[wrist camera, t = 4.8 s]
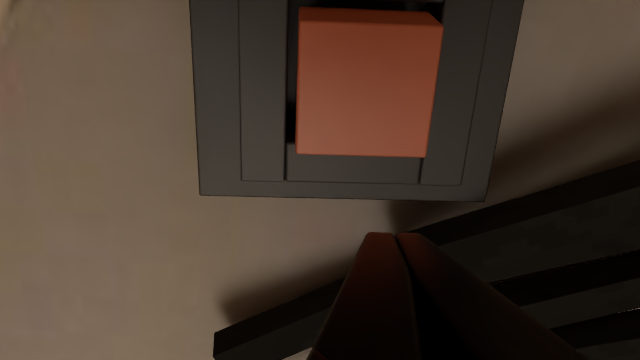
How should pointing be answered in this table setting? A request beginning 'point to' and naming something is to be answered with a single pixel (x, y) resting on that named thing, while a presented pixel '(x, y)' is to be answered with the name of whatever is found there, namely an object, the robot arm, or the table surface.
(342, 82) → the key
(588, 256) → the toy
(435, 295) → the robot arm
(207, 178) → the block
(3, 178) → the table surface
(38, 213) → the table surface
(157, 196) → the table surface
